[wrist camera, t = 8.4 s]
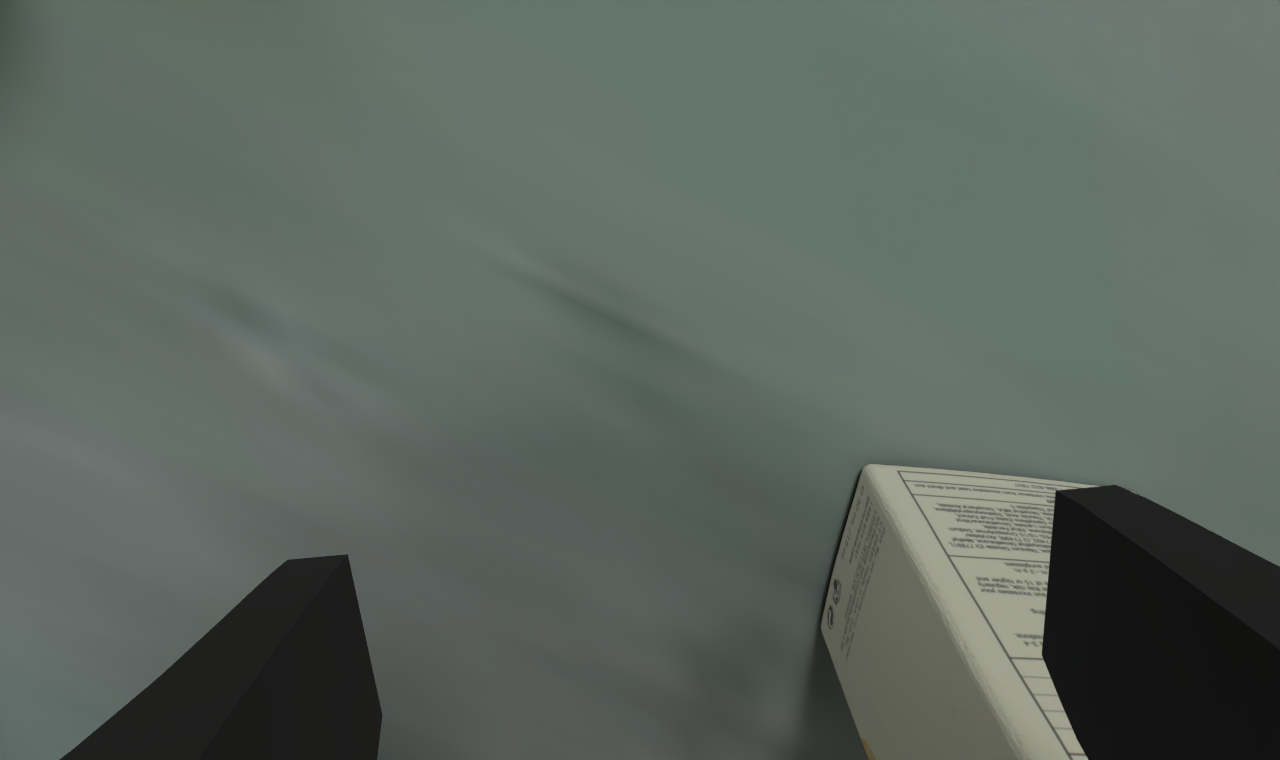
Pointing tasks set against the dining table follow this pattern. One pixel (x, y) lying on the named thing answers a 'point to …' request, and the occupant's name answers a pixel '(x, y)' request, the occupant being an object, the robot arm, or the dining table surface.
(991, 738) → the skincare box
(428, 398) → the dining table surface
